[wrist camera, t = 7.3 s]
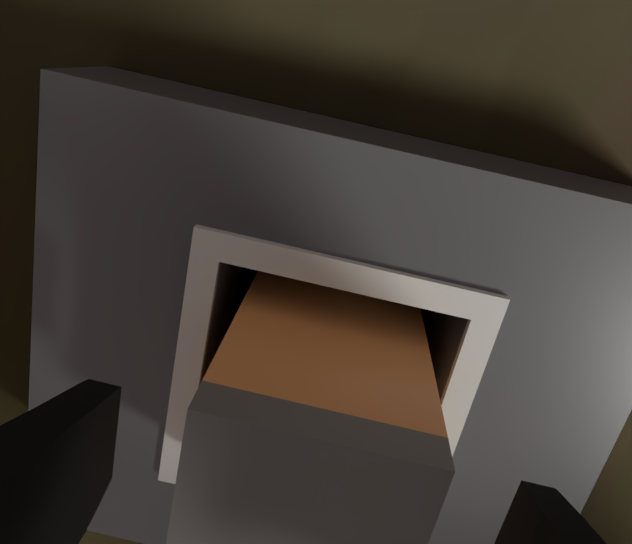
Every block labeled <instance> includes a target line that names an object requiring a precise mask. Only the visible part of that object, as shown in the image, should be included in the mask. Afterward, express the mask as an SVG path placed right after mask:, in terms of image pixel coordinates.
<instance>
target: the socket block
mask: <svg viewBox="0 0 632 544" xmlns="http://www.w3.org/2000/svg"><path fill="white" fill-rule="evenodd" d="M241 267H244V268H248V269H253V270H257V271H261V272H266V273H270V274H274V275H279V276H283V277H287V278H292V279H296V280H300V281H305V282H309V283H313V284H318V285H322V286H326V287H331V288H335V289H339V290H344V291H348V292H352V293H357V294H361V295H365V296H370V297H374V298H378V299H383V300H387V301H391V302H396V303H400V304H404V305H409V306H413V307H417V308H422V309H426V310H430V311H435V314H434V317H433V321H432V324H431V327H430V330H429V333H428V336H427V341H428V346H429V350H430V355H431V360H432V365H433V369H434V374H435V379H436V383H437V388H438V393H439V398H440V402H441V407H442V412H443V416H444V421H445V426H446V430H447V435H448V440H449V445H450V449H451V454H452V459H453V463H454V468H455V474H454V476H453V479H452V482H451V484H450V487H449V490H448V492H447V495H446V498H445V500H444V503H443V506H442V508H441V511H440V513H439V516H438V519H437V521H436V524H435V527H434V529H433V532H432V535H431V537H430V540H429V542H428V544H494V543H495V541H496V538H497V536H498V534H499V531H500V529H501V527H502V524H503V522H504V520H505V517H506V515H507V513H508V510H509V508H510V506H511V503H512V501H513V499H514V496H515V494H516V492H517V489H518V487H519V485H520V482H521V480H522V481H527V482H531V483H535V484H539V485H544V486H548V487H552V488H556V489H557V490H558V491H559V492H560V493H561V494H562V495H563V496H564V497H565V498H566V499H567V501H568V502H569V503H570V504H571V505H572V506H573V507H574V508H575V509H576V510H577V511H578V512H579V514H580V513H581V511H582V509H583V507H584V505H585V503H586V501H587V499H588V497H589V495H590V493H591V491H592V489H593V487H594V485H595V483H596V481H597V479H598V477H599V475H600V473H601V471H602V469H603V467H604V465H605V463H606V460H607V458H608V456H609V454H610V452H611V450H612V448H613V446H614V444H615V442H616V440H617V438H618V436H619V434H620V432H621V430H622V428H623V426H624V424H625V422H626V420H627V418H628V416H629V414H630V412H631V410H632V186H629V185H624V184H620V183H616V182H611V181H607V180H602V179H598V178H594V177H589V176H585V175H581V174H576V173H572V172H568V171H563V170H559V169H555V168H550V167H546V166H541V165H537V164H533V163H528V162H524V161H520V160H515V159H511V158H507V157H502V156H498V155H494V154H489V153H485V152H480V151H476V150H472V149H467V148H463V147H459V146H454V145H450V144H446V143H441V142H437V141H433V140H428V139H424V138H419V137H415V136H411V135H406V134H402V133H398V132H393V131H389V130H385V129H380V128H376V127H371V126H367V125H363V124H358V123H354V122H350V121H345V120H341V119H337V118H332V117H328V116H324V115H319V114H315V113H310V112H306V111H302V110H297V109H293V108H289V107H284V106H280V105H276V104H271V103H267V102H263V101H258V100H254V99H249V98H245V97H241V96H236V95H232V94H228V93H223V92H219V91H215V90H210V89H206V88H202V87H197V86H193V85H188V84H184V83H180V82H175V81H171V80H167V79H162V78H158V77H154V76H149V75H145V74H141V73H136V72H132V71H127V70H123V69H119V68H114V67H110V66H97V67H69V68H42V69H41V70H40V98H39V126H38V154H37V182H36V210H35V238H34V266H33V294H32V322H31V350H30V378H29V406H28V411H30V410H31V409H33V408H35V407H37V406H39V405H41V404H42V403H44V402H46V401H48V400H50V399H52V398H53V397H55V396H57V395H59V394H61V393H62V392H64V391H66V390H68V389H70V388H72V387H73V386H75V385H77V384H79V383H81V382H83V381H85V380H87V379H91V380H95V381H100V382H104V383H108V384H112V385H117V386H121V387H122V389H121V398H120V408H119V417H118V427H117V436H116V445H115V455H114V464H113V474H112V479H111V481H110V484H109V486H108V488H107V490H106V492H105V494H104V496H103V498H102V500H101V502H100V504H99V506H98V508H97V510H96V512H95V514H94V516H93V518H92V520H91V522H90V524H89V526H88V528H87V531H91V532H96V533H100V534H104V535H108V536H113V537H117V538H121V539H126V540H130V541H134V542H138V543H143V544H166V540H167V534H168V527H169V521H170V515H171V508H172V502H173V496H174V490H175V483H176V477H177V471H178V465H179V458H180V452H181V446H182V439H183V433H184V427H185V421H186V414H187V409H188V407H189V405H190V403H191V401H192V399H193V397H194V395H195V393H196V391H197V389H198V387H199V385H200V383H201V381H202V379H203V378H204V376H205V374H206V372H207V370H208V368H209V366H210V364H211V362H212V360H213V358H214V356H215V354H216V352H217V350H218V348H219V346H220V344H221V342H222V340H223V338H224V336H225V334H226V333H227V331H228V329H229V327H230V325H231V320H232V315H233V309H234V303H235V298H236V292H237V286H238V281H239V275H240V269H241Z"/></svg>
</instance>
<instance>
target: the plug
mask: <svg viewBox="0 0 632 544" xmlns="http://www.w3.org/2000/svg"><path fill="white" fill-rule="evenodd" d="M454 474H455V468H454V463H453V459H452V454H451V449H450V445H449V440H448V435H447V430H446V426H445V421H444V416H443V412H442V407H441V402H440V398H439V393H438V388H437V383H436V379H435V374H434V369H433V365H432V360H431V355H430V350H429V346H428V341H427V336H426V332H425V327H424V322H423V318H422V313H421V308H417V307H413V306H409V305H404V304H400V303H396V302H391V301H387V300H383V299H378V298H374V297H370V296H365V295H361V294H357V293H352V292H348V291H344V290H339V289H335V288H331V287H326V286H322V285H318V284H313V283H309V282H305V281H300V280H296V279H292V278H287V277H283V276H279V275H274V274H270V273H266V272H261V271H258V272H257V274H256V276H255V278H254V280H253V282H252V284H251V286H250V288H249V290H248V291H247V293H246V295H245V297H244V299H243V301H242V303H241V305H240V307H239V309H238V311H237V313H236V315H235V317H234V319H233V321H232V323H231V325H230V327H229V329H228V331H227V333H226V334H225V336H224V338H223V340H222V342H221V344H220V346H219V348H218V350H217V352H216V354H215V356H214V358H213V360H212V362H211V364H210V366H209V368H208V370H207V372H206V374H205V376H204V378H203V379H202V381H201V383H200V385H199V387H198V389H197V391H196V393H195V395H194V397H193V399H192V401H191V403H190V405H189V407H188V409H187V414H186V421H185V427H184V433H183V439H182V446H181V452H180V458H179V465H178V471H177V477H176V483H175V490H174V496H173V502H172V508H171V515H170V521H169V527H168V534H167V540H166V544H428V542H429V540H430V537H431V535H432V532H433V529H434V527H435V524H436V521H437V519H438V516H439V513H440V511H441V508H442V506H443V503H444V500H445V498H446V495H447V492H448V490H449V487H450V484H451V482H452V479H453V476H454Z"/></svg>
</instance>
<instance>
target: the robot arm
mask: <svg viewBox="0 0 632 544" xmlns="http://www.w3.org/2000/svg"><path fill="white" fill-rule="evenodd" d="M121 389H122V387H121V386H117V385H112V384H108V383H104V382H100V381H95V380H91V379H87V380H85V381H83V382H81V383H79V384H77V385H75V386H73V387H72V388H70V389H68V390H66V391H64V392H62V393H61V394H59V395H57V396H55V397H53V398H52V399H50V400H48V401H46V402H44V403H42V404H41V405H39V406H37V407H35V408H33V409H31V410H30V411H28V412H26V413H24V414H22V415H20V416H18V417H16V418H14V419H13V420H11V421H9V422H7V423H5V424H3V425H1V426H0V544H78V543H79V541H80V540H81V538H82V537H83V535H84V533H85V532H86V530H87V528H88V526H89V524H90V522H91V520H92V518H93V516H94V514H95V512H96V510H97V508H98V506H99V504H100V502H101V500H102V498H103V496H104V494H105V492H106V490H107V488H108V486H109V484H110V481H111V479H112V474H113V464H114V455H115V445H116V436H117V427H118V417H119V408H120V398H121ZM494 544H606V543H605V542H604V541H603V539H602V538H601V537H600V536H599V535H598V534H597V533H596V532H595V530H594V529H593V528H592V527H591V526H590V525H589V524H588V523H587V521H586V520H585V519H584V518H583V517H582V516H581V515H580V514H579V512H578V511H577V510H576V509H575V508H574V507H573V506H572V505H571V504H570V503H569V502H568V501H567V499H566V498H565V497H564V496H563V495H562V494H561V493H560V492H559V491H558V490H557V489H556V488H552V487H548V486H544V485H539V484H535V483H531V482H527V481H522V480H521V482H520V485H519V487H518V489H517V492H516V494H515V496H514V499H513V501H512V503H511V506H510V508H509V510H508V513H507V515H506V517H505V520H504V522H503V524H502V527H501V529H500V531H499V534H498V536H497V538H496V541H495V543H494Z"/></svg>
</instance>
